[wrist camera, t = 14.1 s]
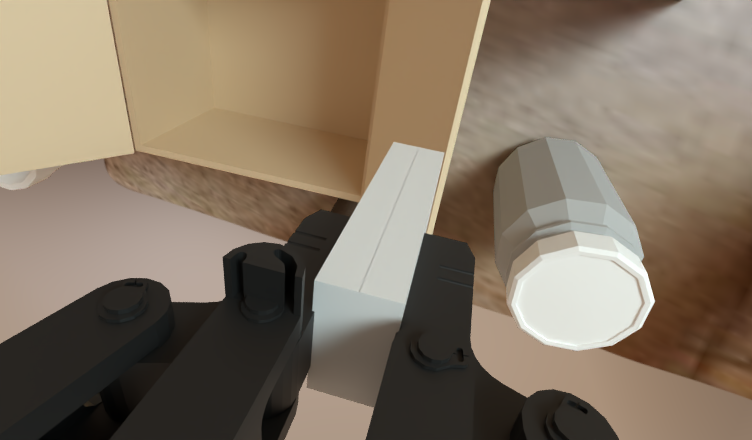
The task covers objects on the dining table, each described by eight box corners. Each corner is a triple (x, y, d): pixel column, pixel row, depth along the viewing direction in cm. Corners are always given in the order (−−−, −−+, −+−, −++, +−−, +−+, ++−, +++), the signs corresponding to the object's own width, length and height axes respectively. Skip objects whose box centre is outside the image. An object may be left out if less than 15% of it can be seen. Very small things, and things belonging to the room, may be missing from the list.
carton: (433, -78, 33) (410, -97, 23) (395, 149, 43) (366, 204, 33) (197, -113, 35) (82, -145, 25) (213, 109, 46) (135, 150, 35)
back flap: (-148, -196, 19) (-148, -195, 20) (-6, 176, 29) (-6, 173, 30) (79, -146, 25) (78, -146, 25) (134, 153, 35) (132, 151, 35)
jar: (522, 116, 39) (544, 212, 24) (623, 156, 39) (710, 277, 24) (476, 203, 44) (470, 325, 29) (565, 238, 44) (605, 380, 29)
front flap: (415, 281, 26) (420, 280, 26) (508, -104, 16) (516, -103, 16) (361, 206, 33) (366, 206, 33) (403, -99, 23) (409, -98, 23)
